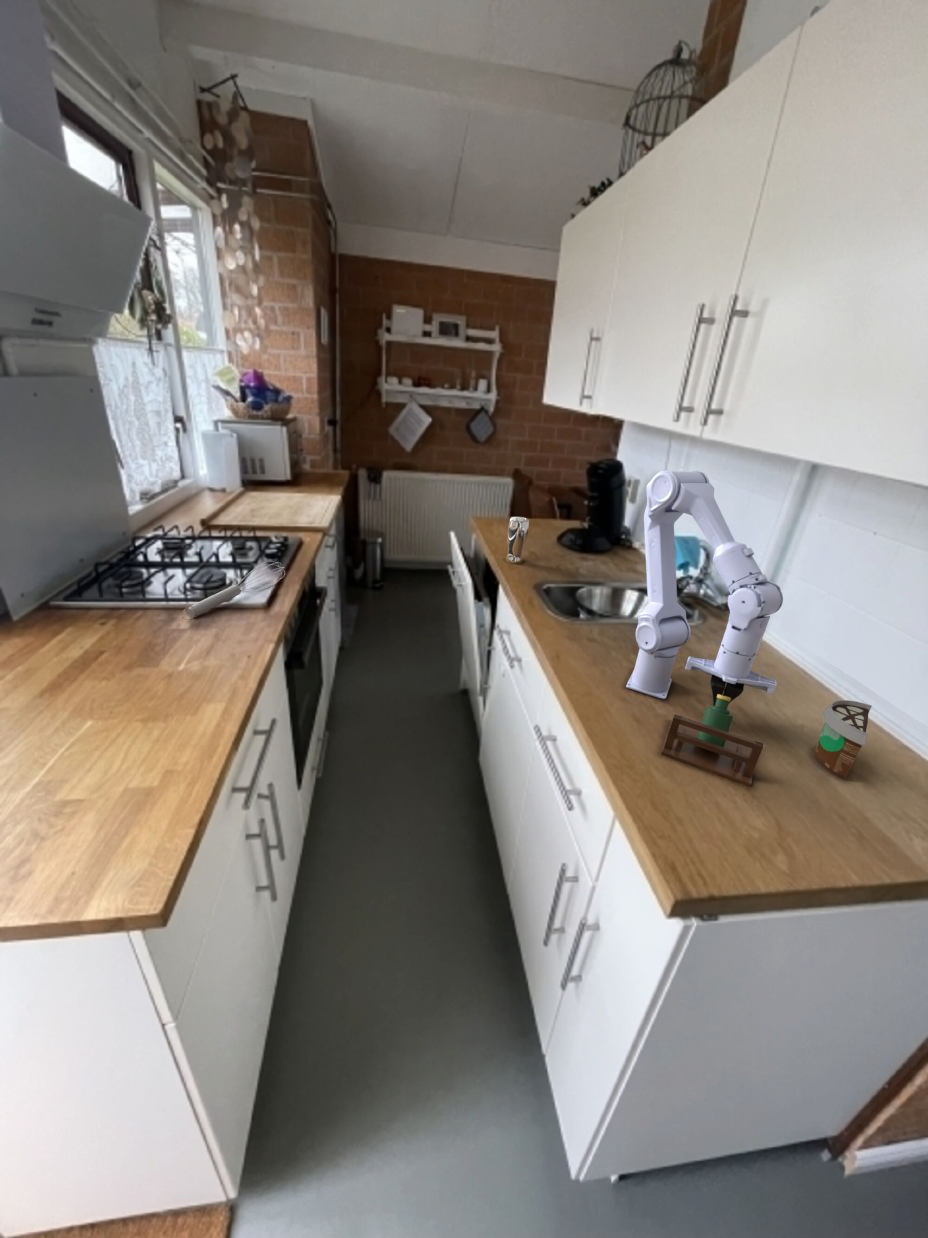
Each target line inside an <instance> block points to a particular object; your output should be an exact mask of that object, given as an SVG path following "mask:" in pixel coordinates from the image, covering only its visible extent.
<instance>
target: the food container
mask: <svg viewBox="0 0 928 1238" xmlns="http://www.w3.org/2000/svg"><path fill="white" fill-rule="evenodd" d="M872 707H873V705H871V704H868V703H864V702H861V701H856V700H848V699H842V700H841V699H840V700H836V701H834V702H832V703H831V704H829V705H828V706H827V708H826V709H825V710H824V711H823V713H822V718H823V720H824V723H823V725H822V729H821V732H820V735H819V738H818V740H817V743H816V746H815V749H814V752H813V757H814V759H815V761H816V762H817V764H819V766H821V767H822V768H823V769H824V770H826V772H828V773H830V774H832V775H833V776H835V777H837V778H839V779H840V780H841V779H842V780H845V779H846V778H847V776H848V774H849V773H850V770H851V769H852V766H853V764H854V763H855V761H856V759H857V757H858V755H859V753H860V752H861V749H862V748H863V746H864V745H865V743H866V741H867V737H868V736H869V733H868V732H867V728H868V723H869V715H870V711H871V709H872Z"/></svg>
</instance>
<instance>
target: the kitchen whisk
mask: <svg viewBox="0 0 928 1238" xmlns="http://www.w3.org/2000/svg"><path fill="white" fill-rule="evenodd" d="M265 563H268V565H266V564H265ZM269 563H270V560H268V561H264V562H262V563H260V564H259V565H257V566H256V567H255V568H253V569H252V570H250V572H249V573H247V574H246V575H245V576H244V577H243V578H242V579H241V580H240V581H239V582H238V583H237V584H233V585H231V586H229V587H227V588H224V589H223V590H221V591H219V592H217V593H214V594H213V595H211V596H208V597H205V599H204V598H203V600H200V601H199V602H196V603H194V604H192V605H190V606H187V607H186V608H185V610H183V611H182V612H181V616H180V617H181V618H182V620H187V621H189V620H193V619H194V618H195V617H198V616H200V615H203V614H204V613H206V612H208V611H210V610H212V609H214V608H216V607H218V606H220V605H222V604H224V603H226V602H227V601H229V600H232V599H234V598H235V597H237V596H239V595H241V593H242V592H243V593H247V592H250V590H251V592H254V591H256V589H257V588H258V589H257V591H260V590H264V589H267V588H270V587H272V586H274V585H275V584H277V583H278V582H279V581H280V580H281V579H283V578H284V577H285V575H286V571H285V570H283V569H285V566H282V563H281V562H279V561H273V560H271V563H270V564H269ZM263 564H264V565H263ZM274 565H275V567H278V568H274V569H272V570H269V571H267V572H265V573H263V574H260V575H259V576H257V577H254V576H255V575H257V574H258V573H260V572H261V571H264V569H266V568H269V567H270V566H274ZM262 567H263V568H262ZM259 568H262V569H260V570H259V571H257V570H258V569H259ZM275 570H277V571H275ZM255 571H257V572H256V573H255V574H253V575H252V576H250V577H248V576H249V575H251V574H252V573H253V572H255ZM273 571H274V572H273ZM282 571H283V572H282ZM270 572H273V573H271V574H269V575H267V576H265V577H263V578H260V577H261V576H264V575H265V574H268V573H270ZM279 573H280V578H278V579H277V580H275V581H273V582H271V581H272V580H273V578H271V579H269V580H268V581H266V582H264V583H261V584H260V585H257V586H254V587H250V588H247V589H246V590H245V589H244V588H245V587H248V586H250V585H253V584H254V583H257V582H260V581H261V580H263V579H266V578H268V577H271V576H272V575H275V576H274V578H276V577H277V576H278V574H279ZM283 573H284V574H283ZM282 575H283V576H282ZM247 577H248V579H246V580H245V578H247ZM253 577H254V578H253ZM251 578H253V579H251ZM257 578H260V579H258V580H256V579H257ZM250 579H251V580H250ZM244 580H245V581H244ZM254 580H256V581H254ZM242 581H244V582H242ZM252 581H254V582H252ZM251 582H252V583H251ZM269 582H270V583H269ZM248 583H249V584H248ZM268 585H269V586H268ZM264 586H266V587H264ZM261 587H263V588H261ZM241 589H243V590H241ZM253 589H254V590H253ZM184 612H185V613H186V615H187V616H188V617H189V618H184V616H183V613H184Z"/></svg>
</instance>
